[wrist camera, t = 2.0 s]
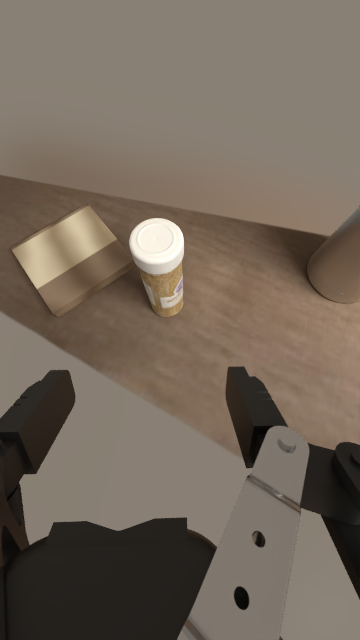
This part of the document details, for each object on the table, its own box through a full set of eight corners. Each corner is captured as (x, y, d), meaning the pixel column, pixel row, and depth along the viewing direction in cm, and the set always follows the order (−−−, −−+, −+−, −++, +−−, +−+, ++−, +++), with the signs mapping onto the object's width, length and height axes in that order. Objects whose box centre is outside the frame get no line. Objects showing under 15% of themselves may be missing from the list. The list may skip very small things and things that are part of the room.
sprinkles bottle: (180, 320, 30) (178, 266, 17) (147, 315, 30) (121, 258, 17) (185, 289, 31) (187, 218, 18) (154, 285, 31) (134, 212, 18)
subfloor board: (91, 211, 35) (87, 203, 34) (136, 265, 32) (134, 259, 31) (17, 254, 33) (10, 247, 32) (58, 317, 30) (52, 313, 28)
